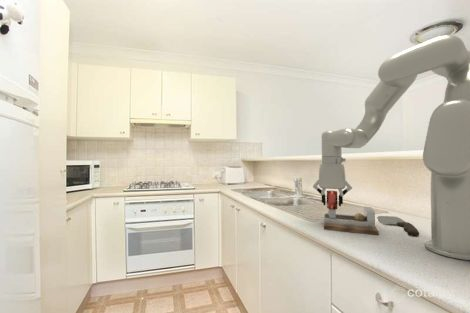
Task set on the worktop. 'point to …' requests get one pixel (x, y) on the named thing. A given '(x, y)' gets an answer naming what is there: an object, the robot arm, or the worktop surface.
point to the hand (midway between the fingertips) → (332, 204)
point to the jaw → (332, 203)
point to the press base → (352, 229)
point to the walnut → (359, 217)
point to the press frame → (349, 219)
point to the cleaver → (398, 224)
